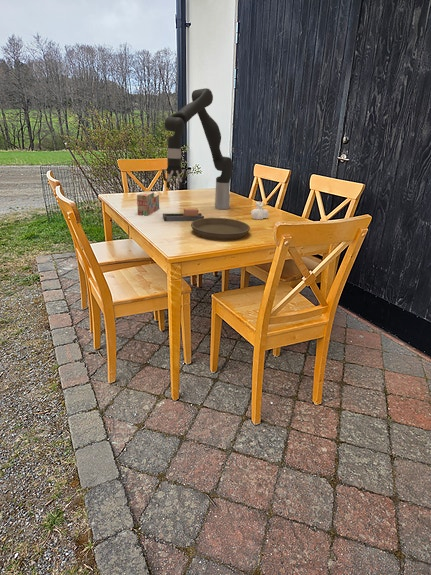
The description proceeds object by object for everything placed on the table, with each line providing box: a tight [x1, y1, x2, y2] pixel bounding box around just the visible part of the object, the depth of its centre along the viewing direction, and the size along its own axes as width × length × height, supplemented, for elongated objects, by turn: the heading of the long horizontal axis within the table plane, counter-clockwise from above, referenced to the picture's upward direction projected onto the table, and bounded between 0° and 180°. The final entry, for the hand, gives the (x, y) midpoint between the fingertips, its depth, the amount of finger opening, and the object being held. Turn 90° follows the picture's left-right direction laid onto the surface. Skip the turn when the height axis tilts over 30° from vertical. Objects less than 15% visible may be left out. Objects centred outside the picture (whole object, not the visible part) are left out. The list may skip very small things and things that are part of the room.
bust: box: [250, 200, 270, 220], centre depth 226 cm, size 12×8×11 cm
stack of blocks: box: [136, 191, 160, 217], centre depth 226 cm, size 21×6×12 cm, turn 168°
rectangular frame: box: [162, 212, 205, 222], centre depth 215 cm, size 23×8×2 cm, turn 104°
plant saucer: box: [190, 217, 251, 241], centre depth 192 cm, size 31×31×5 cm
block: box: [183, 207, 199, 216], centre depth 216 cm, size 8×4×6 cm, turn 104°
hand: (174, 188), depth 207 cm, fingers open, 5 cm apart
